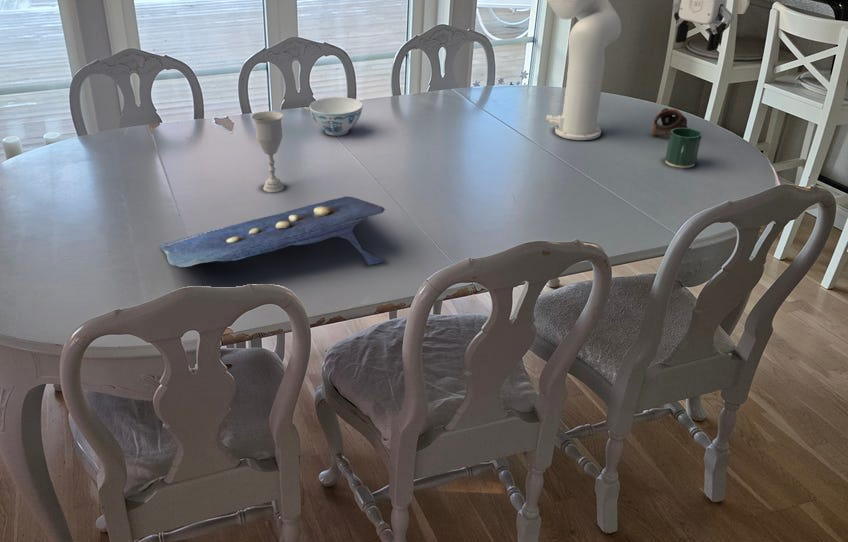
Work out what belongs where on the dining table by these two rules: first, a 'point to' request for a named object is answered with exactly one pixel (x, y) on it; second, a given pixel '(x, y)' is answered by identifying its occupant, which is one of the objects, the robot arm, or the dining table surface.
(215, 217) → the dining table surface
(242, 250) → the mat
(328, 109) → the chinaware
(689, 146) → the green mug
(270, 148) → the chalice
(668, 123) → the broken pottery
